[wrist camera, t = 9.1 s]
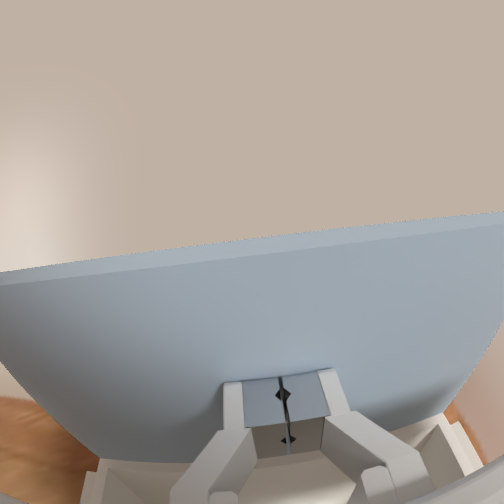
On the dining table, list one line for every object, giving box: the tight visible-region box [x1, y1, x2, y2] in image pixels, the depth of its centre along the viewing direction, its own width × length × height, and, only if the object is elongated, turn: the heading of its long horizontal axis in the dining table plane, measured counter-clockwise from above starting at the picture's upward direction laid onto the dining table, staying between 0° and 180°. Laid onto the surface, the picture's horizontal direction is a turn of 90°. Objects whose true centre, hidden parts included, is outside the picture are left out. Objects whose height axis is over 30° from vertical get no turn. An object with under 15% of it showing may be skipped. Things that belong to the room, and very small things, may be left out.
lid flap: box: [0, 211, 504, 463], centre depth 9 cm, size 11×17×1 cm
